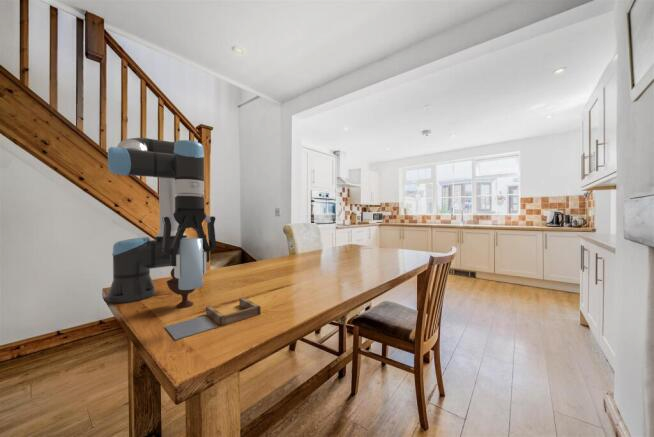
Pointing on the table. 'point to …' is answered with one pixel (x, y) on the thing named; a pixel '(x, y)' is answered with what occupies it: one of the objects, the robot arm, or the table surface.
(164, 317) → the table surface
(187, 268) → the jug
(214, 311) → the brown wooden u-shaped frame
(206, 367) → the table surface
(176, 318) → the table surface
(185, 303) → the ice cream bowl
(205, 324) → the coaster
